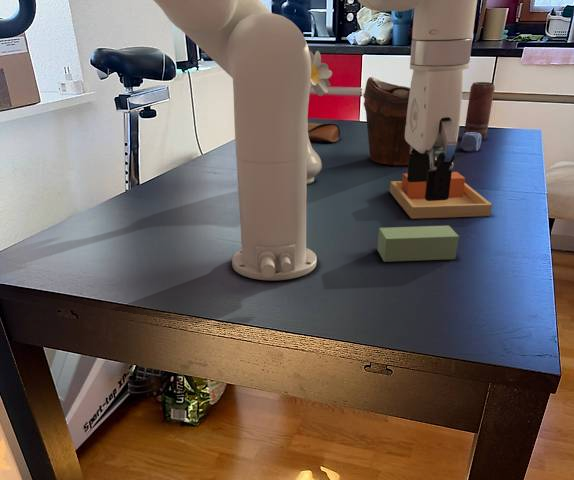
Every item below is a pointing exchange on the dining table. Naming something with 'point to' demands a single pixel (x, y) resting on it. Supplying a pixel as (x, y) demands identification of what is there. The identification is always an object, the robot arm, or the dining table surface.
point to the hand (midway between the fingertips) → (426, 190)
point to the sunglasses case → (323, 132)
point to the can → (479, 108)
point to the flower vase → (320, 86)
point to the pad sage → (417, 243)
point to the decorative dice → (471, 141)
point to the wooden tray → (442, 204)
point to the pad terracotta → (419, 188)
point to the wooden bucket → (387, 122)
